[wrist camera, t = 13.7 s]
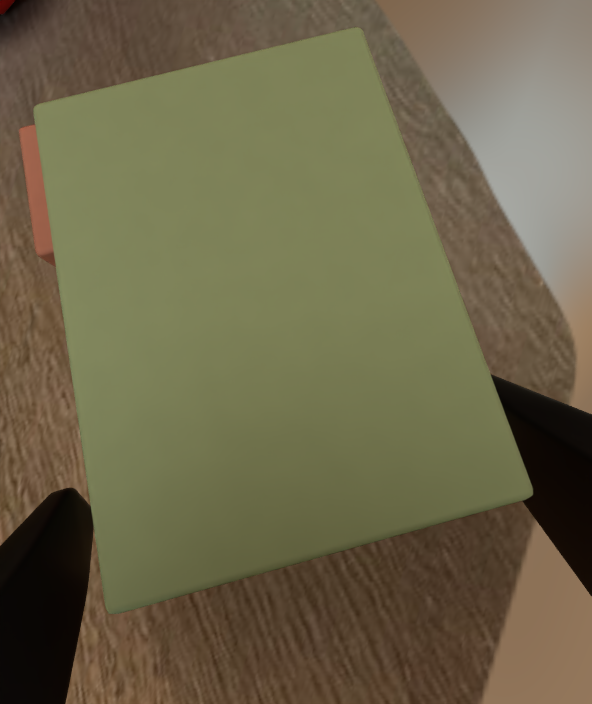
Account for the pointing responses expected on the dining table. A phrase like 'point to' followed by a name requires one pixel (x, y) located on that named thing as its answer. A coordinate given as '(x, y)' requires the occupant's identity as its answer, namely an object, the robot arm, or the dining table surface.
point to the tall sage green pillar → (261, 322)
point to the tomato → (5, 5)
